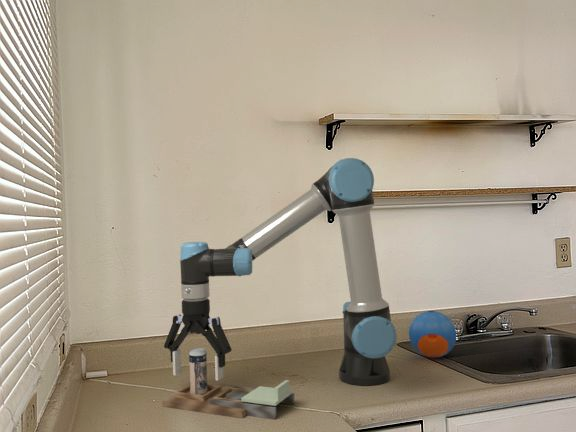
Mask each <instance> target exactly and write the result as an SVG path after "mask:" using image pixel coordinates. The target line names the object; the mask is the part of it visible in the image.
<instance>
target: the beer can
mask: <svg viewBox="0 0 576 432" xmlns="http://www.w3.org/2000/svg"><path fill="white" fill-rule="evenodd" d="M207 355H208V353H207V351H206V348H204V347H197V348H192V349H190V351H189V353H188V356H189V357H188V360H189V361H188V365H189V366H188V367H189V370H188V371H189V385H190V394H196V395H204V394H205V393H207V384H208V365H207V364H208V360H207Z"/></svg>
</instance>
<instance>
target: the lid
mask: <svg viewBox="0 0 576 432" xmlns="http://www.w3.org/2000/svg"><path fill="white" fill-rule="evenodd" d="M292 393H293V389H290V380H288V379H285V380H284V381H282V382H281V383H279V384H277V386H275V387H272V386H271V387H270V386H260V385H258V387H256V388H255V389H254V390H253V391H251V392H250V393H248V394H247V395H245V396H244V397H242V398H241V401H243V402H250V403H258V404H261V405H264V406H272V407H276V406H277V405H279V404H280V402H281V401H283V400H284V399H285V398H286V397H288V396H289V395H290V394H292Z"/></svg>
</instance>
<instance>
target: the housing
mask: <svg viewBox="0 0 576 432" xmlns="http://www.w3.org/2000/svg"><path fill="white" fill-rule="evenodd" d="M254 389H256V388H254V387H247V386H237V385H229V386H226V385H217V384H210V383H209V384H208V383H207V393H205V394H204V395H196V394H190V384H188V385H186V386H185V387H183V388H181V389H179V390H177V391H174V393H173V394H172V395H171V396H169V397H167V398H165V399H163V400H162V407H164V408H170V409H177V410H185V411H191V412H197V413H204V414H210V413H211V415H217V416H225V417H232V418H239V419H243V418H244V417H246V416H249V417H250V416H251V417H256V418H261V419H262V418H263V419H270V420H276V419H277V407H276V406H271V405H264V404H258V403H250V402H243V401H241V398H242V397H244V396H245V395H247V394H248V393H250V392H251V391H253V390H254ZM280 403H281V404H287V405H295V393H294V392H292V394H290V395H289V396H288V397H286V398H285V399H284V400H283V401H281V402H280ZM280 403H279V404H280Z"/></svg>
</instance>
